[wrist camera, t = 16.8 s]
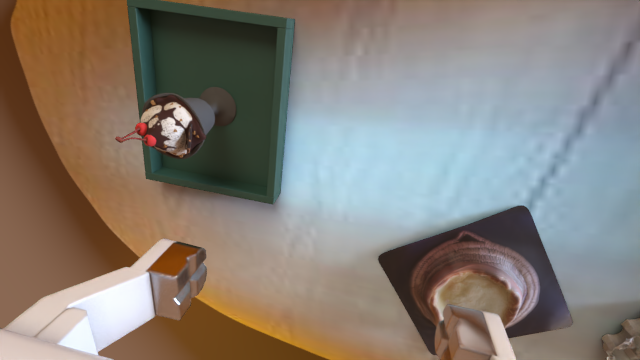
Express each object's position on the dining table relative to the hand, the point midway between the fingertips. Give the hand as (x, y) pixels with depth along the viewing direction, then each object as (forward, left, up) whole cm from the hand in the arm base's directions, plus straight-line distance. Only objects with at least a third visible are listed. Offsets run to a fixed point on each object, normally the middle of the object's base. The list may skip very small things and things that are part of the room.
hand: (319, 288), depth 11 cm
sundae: (+3, -18, -31) cm, 36 cm away
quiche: (+23, +20, -32) cm, 44 cm away
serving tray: (+3, -18, -31) cm, 36 cm away
